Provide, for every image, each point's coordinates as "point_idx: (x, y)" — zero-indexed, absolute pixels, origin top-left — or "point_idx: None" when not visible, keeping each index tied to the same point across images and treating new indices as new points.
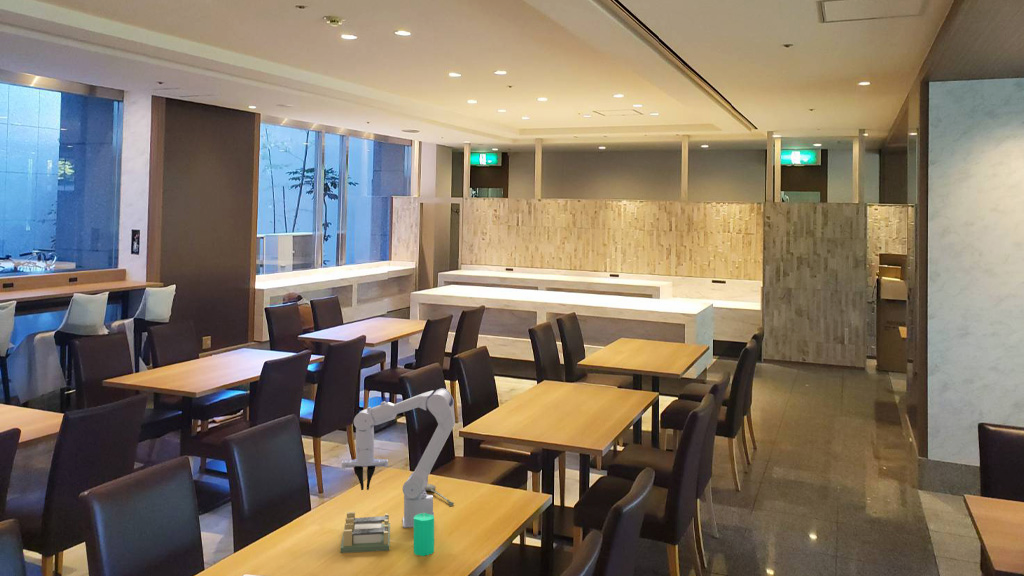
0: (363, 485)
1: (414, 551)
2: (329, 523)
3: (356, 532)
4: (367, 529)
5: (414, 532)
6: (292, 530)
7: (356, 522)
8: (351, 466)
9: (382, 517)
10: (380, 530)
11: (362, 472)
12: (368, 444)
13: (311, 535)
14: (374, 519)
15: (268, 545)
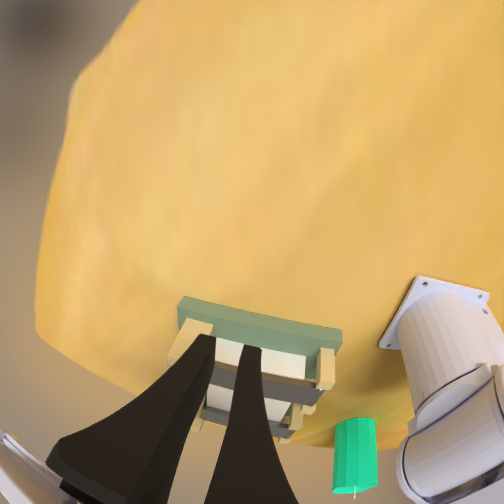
0: (207, 373)
1: (335, 432)
2: (128, 225)
3: (212, 419)
4: None
5: (334, 466)
6: (56, 245)
7: (210, 381)
8: (49, 476)
9: (303, 393)
10: (274, 433)
11: (166, 497)
12: None
13: (103, 293)
14: (272, 394)
15: (50, 302)
